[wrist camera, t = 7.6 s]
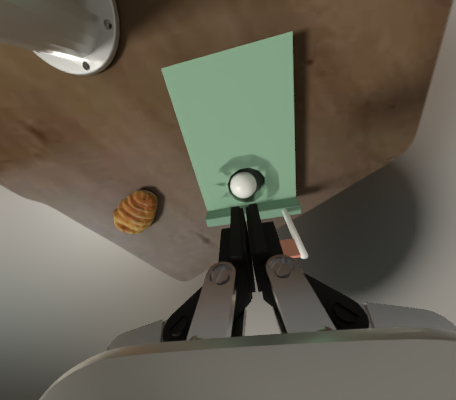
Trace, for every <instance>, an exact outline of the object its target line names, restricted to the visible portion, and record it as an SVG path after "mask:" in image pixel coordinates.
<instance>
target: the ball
mask: <svg viewBox="0 0 456 400" xmlns="http://www.w3.org/2000/svg"><path fill="white" fill-rule="evenodd" d="M256 186H257V183H256V180H255V178H254V176H253V175H251V174H250V173H248V172H239V173H237V174H236V175H234V176H233V178H232V179H231V183H230V188H231V191H232V193H233V194H234V195H235V196H237V197H239V198H248V197H250V196H251V195H253V193H254V192H255V190H256Z"/></svg>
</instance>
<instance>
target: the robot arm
mask: <svg viewBox="0 0 456 400" xmlns="http://www.w3.org/2000/svg"><path fill="white" fill-rule="evenodd" d="M111 25H112V29H111ZM119 35H120V27H119V16H118V10H117V5H116V1H115V0H0V43H4V44H8V45H12V46H16V47H20V48H25V49H29V50H32V51H33V52H34V53H35V54H36V55H37V56H39V57H40V58H41V59H43V60H44V61H45V62H47V63H48V64H49V65H51V66H53V67H55V68H57V69H58V70H61V71H63V72H66V73H69V74H74V75H82V76H89V75H94V74H97V73H99V72H101V71H103V70H104V69H105V68H106V67H107V66H108V65H109V64H110V63H111V62H112V60H113V58H114V57H115V54H116V51H117V48H118V43H119ZM248 205H249V207H245V208H246V217H247V225H248V230H247V225H246V220H245V215H244V211H243V208H240V207H239V206H235V207H231V217H230V228H225V229H222V230H221V240H220V252H219V262H218V263H216V264H214V265H213V266H211V267H210V269H209V270H208V272H207V274H206V277H205V281H204V284H203V286H202V287H201V288H200V289H199V290H198V291H197V292H196V293H195V294H194V295H193V296H191V297H190V298H189V299H188V300H187V301H186V302H185V303H184V304H183V305H182V306H181V307H180V308H179V309H178V310H177V311H175V312H174V313H173V314H172V315H171V316H170V318H169V319H168V320H166V321H163V320H159V321H157V322H154V323H151V324H148V325H145V326H142V327H139V328H137V329H134V330H131V331H128V332H125V333H123V334H121V335H119V336H118V337H116V338H115V339H114V340H113V341H112V343H111V344H110V345H109V347H108V349H107V351H105V352H103V353H100V354H98V355H95V356H93V357H91V358H89V359H88V360H85V361H83V362H82V363H80V364H78V365H76V366H75V367H74V368H72V369H70V370H69V371H67V372H66V373H65V374H64V375H62V376H61V377H60V378H59V379H58V380H56V381H55V382H54V383H53V384H52V385H51V386H50V387H49V389H48V390H47V391H46V392H45V393H44V394H43V396H42V397H41V398H40V399H39V400H456V326H455V325H454V324H453V323H451V322H450V321H448V320H447V319H446V318H444V317H443V316H441V315H439V314H437V313H435V312H432V311H428V310H424V309H417V308H409V307H401V306H393V305H386V304H378V303H370V302H365V304H359V303H357V302H355V301H354V300H352V299H350V298H349V297H347V296H345V295H343V294H341V293H340V292H338V291H336V290H334V289H332V288H330V287H329V286H327V285H325V284H323V283H321V282H319V281H318V280H316V279H314V278H312V277H310V276H308V275H307V274H305V273H303V272H302V270H301V268H300V267H299V266H298V263H297V262H296V261H295V260H294V259H293V258H292V257H290V256H287V255H284V253H283V250H282V247H281V244H280V241H279V238H278V235H277V232H276V229H275V226H274V223H273V221H272V222H265V223H261V219H260V215H259V210H258V206H257V203H254V204H248ZM248 234H249V235H248ZM252 262H253V266H252ZM253 267H254V272H255V276H256V281H257V286H258V291H259V292H261V291H262V292H263V298H264V300H265V301H266V302H267V303H269V304H270V305H271V306H272V309H273V312H274V315H275V318H276V321H277V324H278V327H279V330H280V333H281V334H271V335H257V336H245V325H246V307H247V306H248V304H249V303H250V302H251V299H252V292H255V283H254V274H253Z"/></svg>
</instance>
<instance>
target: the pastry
mask: <svg viewBox="0 0 456 400" xmlns="http://www.w3.org/2000/svg"><path fill="white" fill-rule="evenodd" d="M157 205H158V200H157V197H156V195H155V194H153V193H152V192H150V191H147V190H136V191H135V192H134V193H132V194H129V195H128V196H127V197H126V198H125V199H123V200H121V201H120V203H119V206H118V207H117V209H115V210H114V224H115V226H116V227H117V228H118V229H119V230H121V231H123V232H125V233H130V234H138V233H141V232H143V231H144V230H145V229H147V228H148V227H149V226H150V225H151V223H152V221H153V220H154V217H155V213H156V209H157Z"/></svg>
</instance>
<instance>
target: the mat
mask: <svg viewBox="0 0 456 400" xmlns="http://www.w3.org/2000/svg"><path fill="white" fill-rule="evenodd" d="M161 70H162V73H163V76H164V79H165V82H166V85H167V88H168V91H169V94H170V98H171V101H172V104H173V107H174V110H175V113H176V116H177V119H178V122H179V125H180V128H181V131H182V134H183V137H184V141H185V144H186V147H187V150H188V153H189V156H190V159H191V162H192V165H193V168H194V171H195V174H196V177H197V181H198V184H199V187H200V190H201V193H202V196H203V199H204V202H205V205H206V208H207V211H208V212H207V216H206V223H207V226H208V227H212V226H219V225H226V224H230V217H231V207H235V206H239V207H240V208H243V211H244V215H245V220H246V221H247V217H246V208H245V207H249V205H248V204H254V203H257V206H258V210H259V215H260V219H266V218H273V217H280V216H283V213H282V209H284V208H285V209H287V211H288V213H289V215H293V214H300V213H301V204H300V203H299V201H298V200H297V198H296V174H295V126H294V79H293V31H291V32H288V33H284V34H281V35H277V36H274V37H270V38H267V39H263V40H260V41H256V42H253V43H249V44H246V45H242V46H239V47H235V48H232V49H228V50H225V51H221V52H218V53H214V54H211V55H207V56H204V57H200V58H197V59H193V60H190V61H186V62H183V63H179V64H176V65H172V66H169V67H165V68H162V69H161ZM239 172H248V173H250V174H251V175H253V176H254V178H255V180H256V183H257V186H256V190H255V192H254V194H253V195H251V196H250V197H248V198H239V197H237V196H235V195H234V194H233V193H232V191H231V188H230V185H229V183H231V179H232V178H233V176H234V175H236V174H237V173H239ZM263 176H264V182H263ZM262 184H263V185H262ZM261 186H262V187H261ZM260 188H261V189H260ZM259 189H260V190H259Z"/></svg>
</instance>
